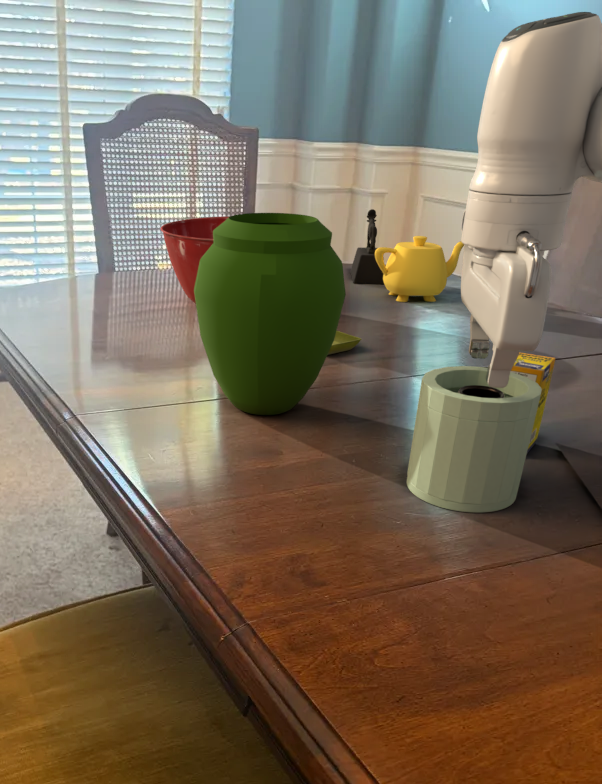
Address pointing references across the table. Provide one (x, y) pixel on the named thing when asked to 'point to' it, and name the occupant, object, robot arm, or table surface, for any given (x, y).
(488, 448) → the jar
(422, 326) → the table surface
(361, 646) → the table surface
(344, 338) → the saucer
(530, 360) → the supplement box
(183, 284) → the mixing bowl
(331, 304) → the vase
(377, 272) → the sculpture
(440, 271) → the teapot
